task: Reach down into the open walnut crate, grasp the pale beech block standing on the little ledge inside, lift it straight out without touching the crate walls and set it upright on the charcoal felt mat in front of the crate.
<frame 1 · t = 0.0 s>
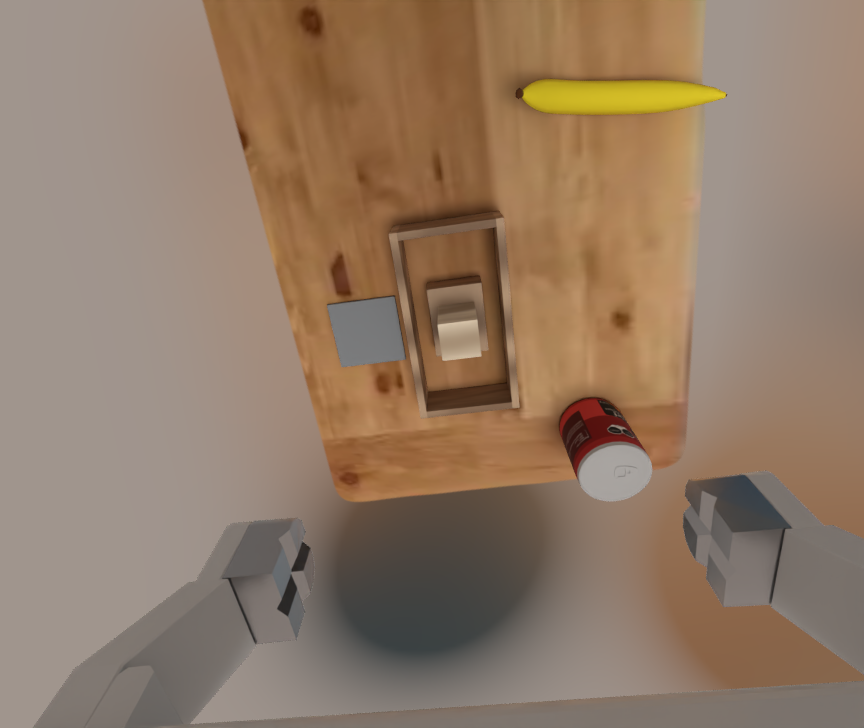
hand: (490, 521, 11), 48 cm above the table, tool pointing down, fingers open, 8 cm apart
canned food: (588, 421, 65), on the table
block: (458, 320, 56), point 3 cm above the table, touching crate
crate: (457, 312, 59), on the table
banana: (603, 99, 50), on the table
mat: (367, 331, 60), on the table
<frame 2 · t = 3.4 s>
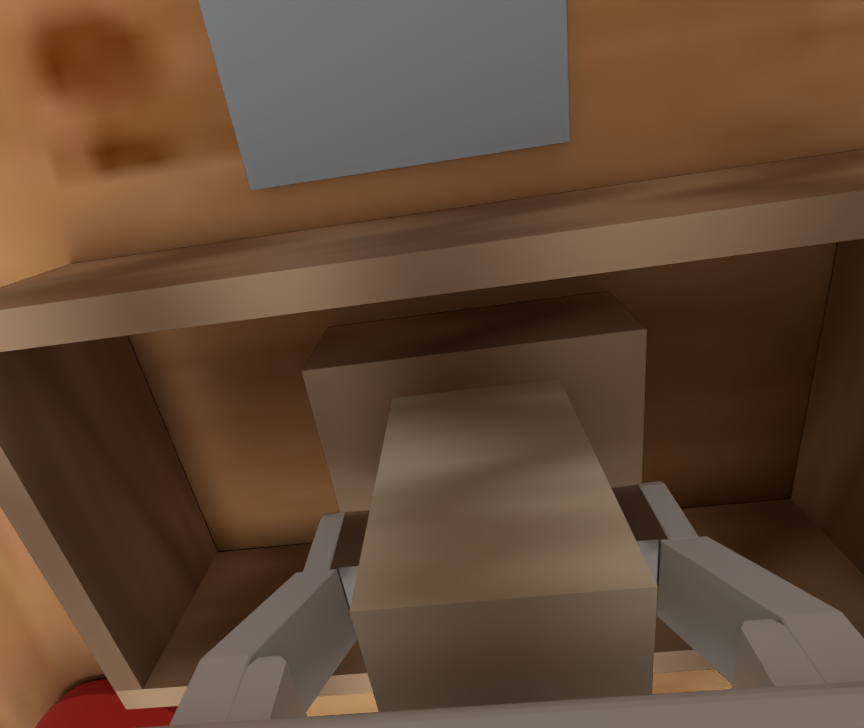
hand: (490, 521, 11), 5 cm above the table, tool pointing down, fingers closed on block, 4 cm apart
canned food: (142, 724, 23), on the table
block: (483, 457, 13), point 3 cm above the table, touching crate, gripper
crate: (475, 401, 16), on the table
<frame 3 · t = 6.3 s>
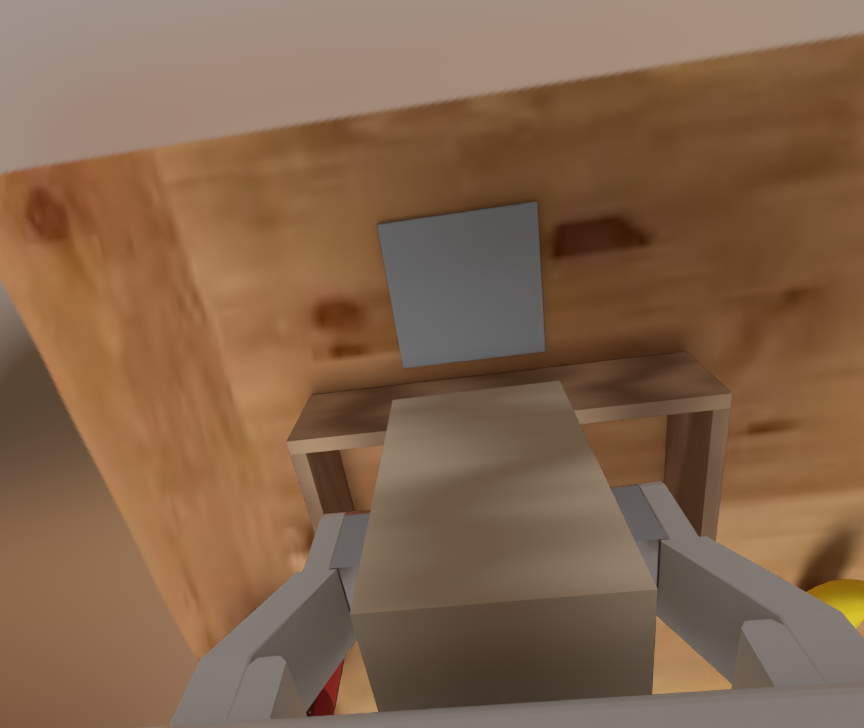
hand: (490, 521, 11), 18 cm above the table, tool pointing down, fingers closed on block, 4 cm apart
canned food: (298, 637, 39), on the table
block: (483, 459, 13), point 16 cm above the table, touching gripper
crate: (501, 457, 31), on the table
banana: (794, 619, 37), on the table
mat: (465, 289, 27), on the table
when the fingers open (4 cm above the table, at t = 9.1 s): block stays where it is, resting on mat.
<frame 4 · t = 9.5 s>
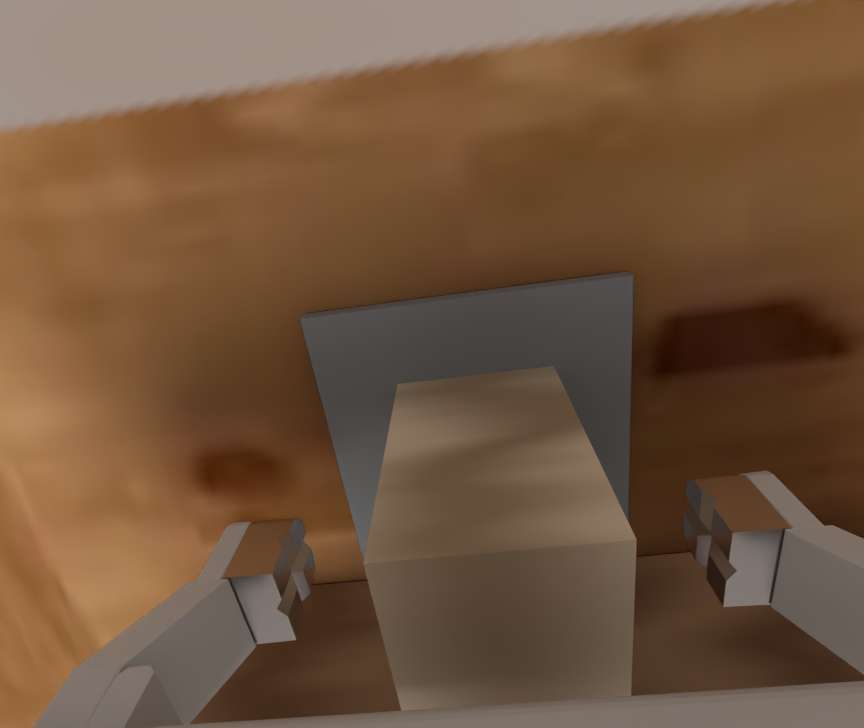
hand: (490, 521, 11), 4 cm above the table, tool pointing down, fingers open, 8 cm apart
block: (482, 440, 14), resting on mat
crate: (537, 684, 18), on the table
mat: (478, 431, 14), on the table
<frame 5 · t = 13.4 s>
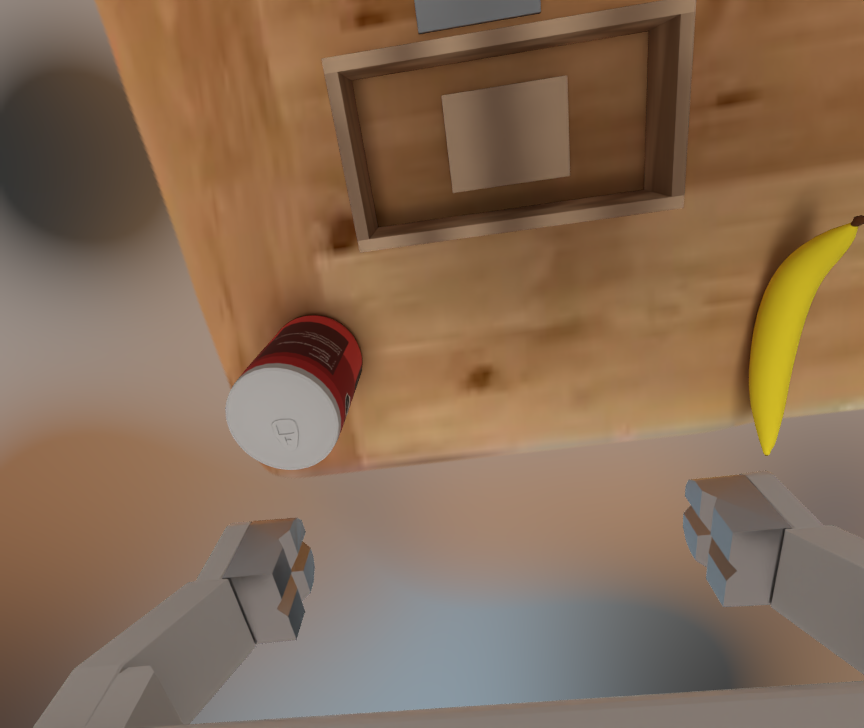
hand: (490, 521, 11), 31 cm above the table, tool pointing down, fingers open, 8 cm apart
canned food: (320, 355, 44), on the table
crate: (502, 136, 36), on the table
banana: (762, 323, 41), on the table
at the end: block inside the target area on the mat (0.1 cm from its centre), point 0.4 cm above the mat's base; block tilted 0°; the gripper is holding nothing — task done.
